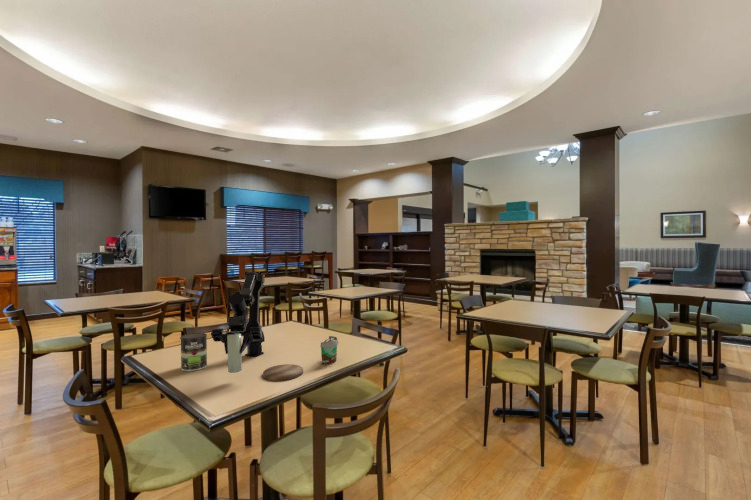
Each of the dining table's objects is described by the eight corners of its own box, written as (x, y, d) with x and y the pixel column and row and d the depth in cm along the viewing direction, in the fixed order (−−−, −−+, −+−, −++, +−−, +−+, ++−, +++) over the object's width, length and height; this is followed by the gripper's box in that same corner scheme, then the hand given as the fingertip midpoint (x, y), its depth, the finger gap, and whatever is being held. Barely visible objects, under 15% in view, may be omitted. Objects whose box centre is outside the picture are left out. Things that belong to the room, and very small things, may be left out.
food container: (334, 365, 157) (333, 343, 157) (320, 365, 158) (320, 342, 158) (342, 357, 169) (342, 336, 169) (329, 356, 170) (329, 335, 170)
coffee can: (207, 368, 155) (207, 336, 155) (180, 373, 151) (180, 339, 150) (206, 362, 164) (206, 331, 164) (181, 366, 160) (180, 334, 160)
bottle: (225, 371, 139) (224, 335, 139) (235, 367, 143) (234, 332, 143) (234, 373, 137) (233, 337, 136) (244, 369, 141) (243, 333, 141)
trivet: (254, 377, 145) (254, 374, 145) (282, 365, 159) (281, 362, 159) (284, 383, 137) (284, 380, 137) (311, 370, 152) (310, 367, 152)
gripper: (211, 308, 142) (202, 344, 131) (260, 306, 145) (255, 341, 134) (218, 324, 150) (210, 358, 139) (264, 322, 153) (259, 356, 142)
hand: (233, 353), depth 138 cm, fingers closed on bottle, 5 cm apart
